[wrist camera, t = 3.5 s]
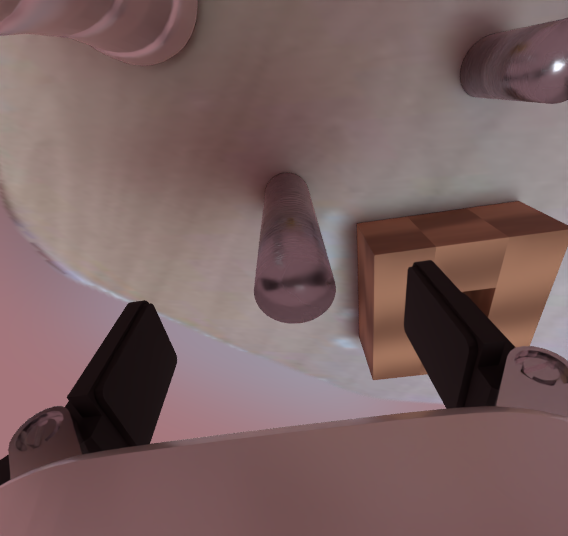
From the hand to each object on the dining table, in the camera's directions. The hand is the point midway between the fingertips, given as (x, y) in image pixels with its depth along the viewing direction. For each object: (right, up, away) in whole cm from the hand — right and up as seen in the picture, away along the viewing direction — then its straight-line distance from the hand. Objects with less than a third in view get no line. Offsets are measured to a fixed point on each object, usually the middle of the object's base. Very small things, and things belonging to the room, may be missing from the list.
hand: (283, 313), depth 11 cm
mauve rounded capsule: (+12, +14, +7) cm, 20 cm away
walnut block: (+12, +1, +15) cm, 19 cm away
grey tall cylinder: (0, +7, +11) cm, 13 cm away
